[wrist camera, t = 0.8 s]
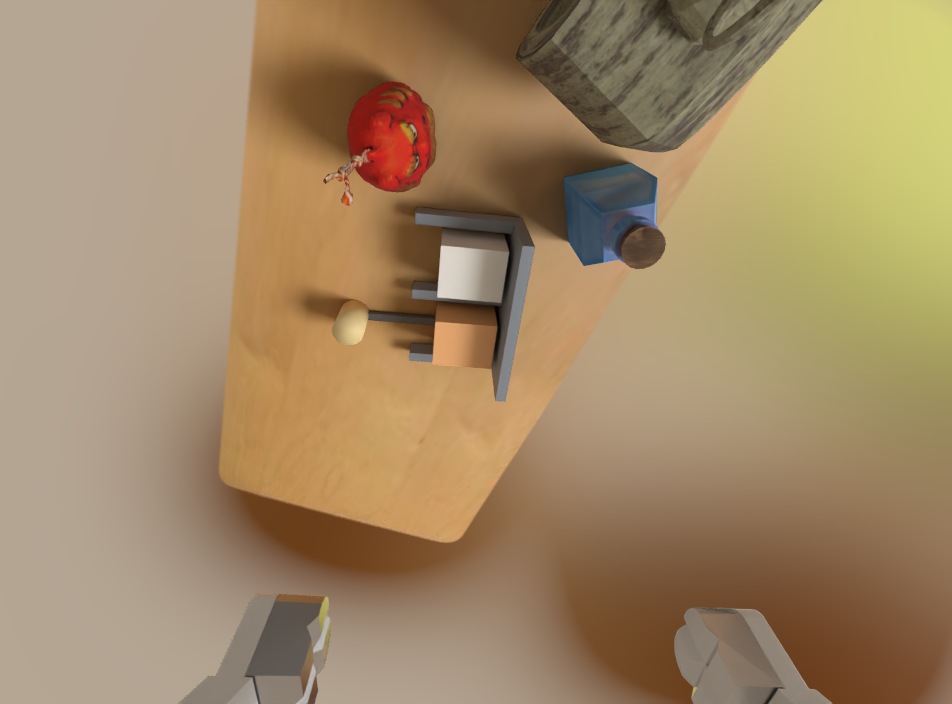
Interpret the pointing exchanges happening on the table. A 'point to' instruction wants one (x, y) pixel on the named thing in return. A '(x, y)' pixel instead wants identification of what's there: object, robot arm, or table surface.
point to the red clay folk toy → (389, 140)
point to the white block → (472, 265)
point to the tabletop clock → (654, 61)
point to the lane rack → (507, 309)
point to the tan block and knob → (456, 330)
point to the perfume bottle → (614, 216)
